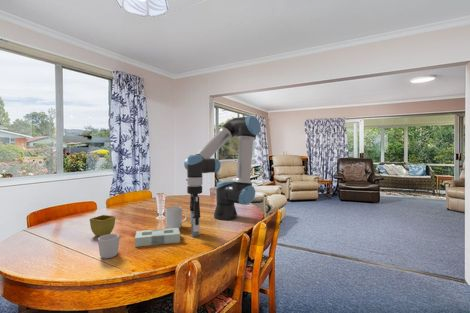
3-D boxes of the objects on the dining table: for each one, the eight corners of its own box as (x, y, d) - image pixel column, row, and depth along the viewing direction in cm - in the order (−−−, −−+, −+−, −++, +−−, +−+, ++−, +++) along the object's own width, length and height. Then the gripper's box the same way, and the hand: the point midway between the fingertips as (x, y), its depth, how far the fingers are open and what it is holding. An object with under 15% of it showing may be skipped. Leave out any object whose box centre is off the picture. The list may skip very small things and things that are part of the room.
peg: (197, 234, 131) (197, 211, 130) (198, 236, 128) (198, 212, 127) (191, 235, 130) (191, 211, 130) (192, 237, 127) (192, 213, 127)
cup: (106, 249, 111) (105, 231, 110) (124, 249, 111) (124, 231, 111) (94, 260, 100) (94, 240, 100) (115, 259, 101) (115, 240, 100)
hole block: (178, 235, 129) (178, 227, 129) (180, 242, 120) (180, 233, 120) (136, 239, 124) (136, 231, 123) (134, 246, 114) (134, 238, 114)
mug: (167, 231, 136) (167, 210, 136) (164, 226, 144) (164, 207, 144) (189, 228, 141) (189, 208, 141) (184, 223, 149) (184, 205, 149)
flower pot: (116, 233, 133) (116, 216, 132) (102, 238, 124) (102, 220, 124) (103, 231, 136) (103, 214, 135) (89, 236, 127) (88, 218, 127)
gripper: (184, 182, 139) (184, 221, 139) (190, 189, 115) (190, 235, 116) (198, 182, 141) (198, 220, 142) (206, 188, 117) (206, 234, 118)
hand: (194, 227), depth 129 cm, fingers open, 13 cm apart
